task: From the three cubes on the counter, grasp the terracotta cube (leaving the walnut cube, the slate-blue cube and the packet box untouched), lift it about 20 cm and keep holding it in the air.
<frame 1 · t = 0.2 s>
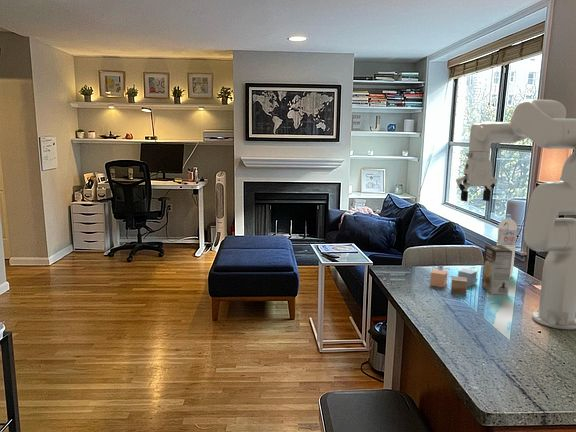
hand: (475, 200, 173), 31 cm above the kitchen counter, tool pointing down, fingers open, 9 cm apart
terracotta cube: (438, 284, 168), on the kitchen counter
coffee box: (494, 290, 163), on the kitchen counter
water bottle: (503, 275, 182), on the kitchen counter
slate cube: (466, 283, 170), on the kitchen counter
walnut cube: (458, 292, 160), on the kitchen counter
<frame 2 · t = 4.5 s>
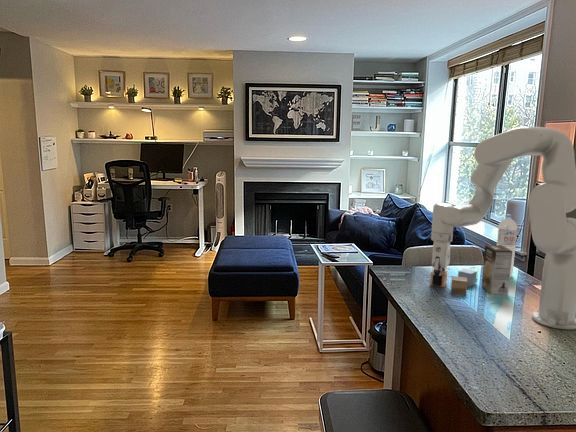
hand: (438, 283, 168), 1 cm above the kitchen counter, tool pointing down, fingers closed on terracotta cube, 5 cm apart
terracotta cube: (438, 284, 169), on the kitchen counter, touching gripper
everything else where it was.
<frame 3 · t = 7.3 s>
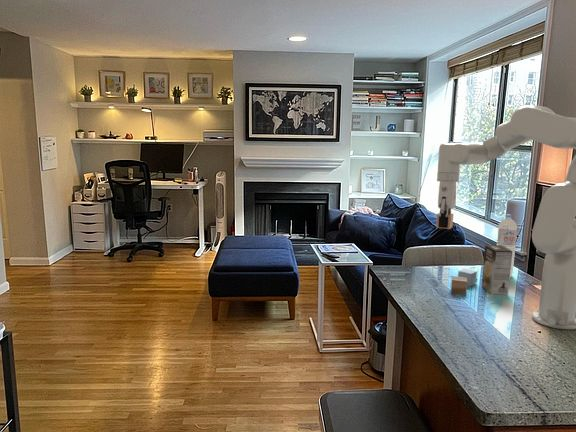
hand: (444, 225, 166), 22 cm above the kitchen counter, tool pointing down, fingers closed on terracotta cube, 5 cm apart
terracotta cube: (444, 227, 166), point 22 cm above the kitchen counter, touching gripper
everything else where it was.
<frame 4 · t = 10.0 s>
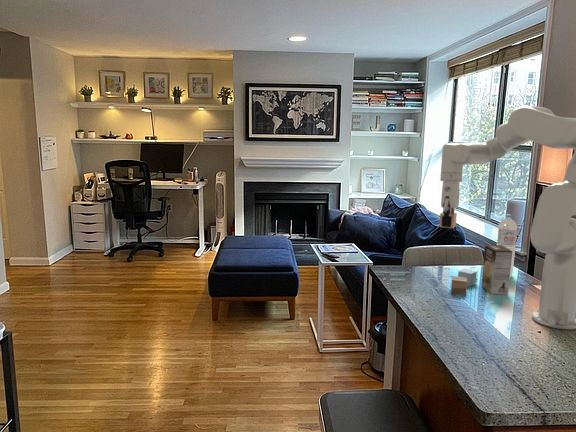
hand: (447, 225, 168), 22 cm above the kitchen counter, tool pointing down, fingers closed on terracotta cube, 5 cm apart
terracotta cube: (447, 226, 168), point 22 cm above the kitchen counter, touching gripper
everything else where it was.
at the end: the gripper is holding terracotta cube; terracotta cube point 21.8 cm above the kitchen counter; walnut cube moved 0.1 cm from its start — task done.
